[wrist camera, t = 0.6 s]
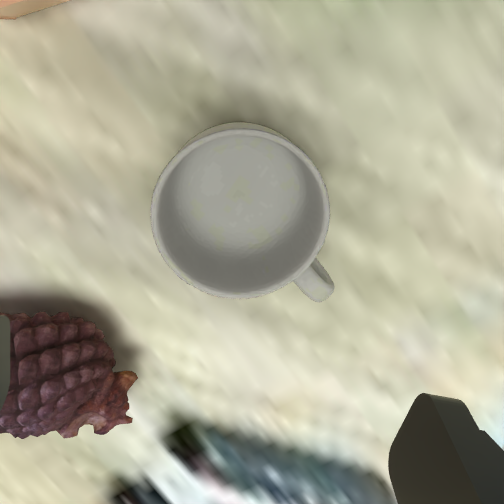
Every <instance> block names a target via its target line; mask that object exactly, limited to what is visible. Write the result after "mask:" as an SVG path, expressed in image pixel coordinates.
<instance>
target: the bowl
mask: <svg viewBox="0 0 504 504" xmlns="http://www.w3.org/2000/svg"><path fill="white" fill-rule="evenodd" d="M67 1H70V0H0V19H16V18H17V17H20V16H23V15H26V14H29V13H33V12H36V11H39V10H42V9H45V8H48V7H51V6H55V5H58V4H61V3H64V2H67Z"/></svg>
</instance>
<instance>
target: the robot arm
mask: <svg viewBox="0 0 504 504" xmlns="http://www.w3.org/2000/svg"><path fill="white" fill-rule="evenodd" d="M9 385H10V321H9V318H8V317H7V316H4V315H0V411H1V409H2V407H3V404H4V402H5V399H6V396H7V393H8V389H9ZM388 467H389V475H390V479H391V482H392V486H393V489H394V492H395V496H396V499H397V502H398V504H504V451H503V450H502V449H501V448H500V447H499V445H498V444H497V443H496V442H495V441H494V440H493V439H492V438H491V437H490V436H489V435H488V434H487V433H486V432H485V431H482V430H479V428H478V426H477V424H476V423H475V421H474V419H473V417H472V415H471V414H470V412H469V410H468V408H467V406H466V405H465V404H464V403H463V402H462V401H461V400H458V399H453V398H448V397H442V396H437V395H431V394H426V393H422V394H420V395H418V396H417V398H416V399H415V401H414V402H413V404H412V406H411V408H410V410H409V412H408V414H407V416H406V418H405V420H404V422H403V424H402V426H401V427H400V429H399V431H398V433H397V435H396V437H395V439H394V441H393V443H392V445H391V448H390V452H389V461H388Z"/></svg>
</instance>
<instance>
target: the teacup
mask: <svg viewBox="0 0 504 504" xmlns="http://www.w3.org/2000/svg"><path fill="white" fill-rule="evenodd" d="M329 219H330V205H329V197H328V193H327V189H326V186H325V184H324V182H323V179H322V177H321V175H320V173H319V171H318V169H317V168H316V166H315V165H314V164H313V162H312V161H311V160H310V159H309V157H308V156H307V155H306V154H305V153H304V152H303V151H302V150H301V149H300V148H298V147H297V146H296V145H294V144H293V143H292V142H291V141H290V140H288V139H287V138H286V137H284V136H283V135H281V134H280V133H278V132H276V131H274V130H272V129H270V128H267V127H265V126H262V125H258V124H253V123H246V122H233V123H226V124H221V125H218V126H214V127H212V128H209V129H207V130H205V131H203V132H201V133H199V134H198V135H196V136H195V137H193V138H192V139H191V140H190V141H188V142H187V143H186V144H185V145H184V146H183V147H182V148H181V149H180V151H179V152H178V153H177V154H176V155H175V156H174V157H173V158H172V160H171V161H170V162H169V163H168V165H167V166H166V167H165V169H164V170H163V172H162V173H161V175H160V177H159V179H158V181H157V184H156V186H155V189H154V192H153V197H152V204H151V227H152V232H153V236H154V239H155V242H156V245H157V247H158V250H159V252H160V253H161V255H162V257H163V259H164V260H165V262H166V263H167V265H168V266H169V267H170V268H171V269H172V270H173V271H174V272H175V273H176V274H177V276H178V277H179V278H181V279H182V280H184V281H185V282H186V283H187V284H189V285H192V286H193V287H195V288H197V289H199V290H200V291H202V292H205V293H207V294H210V295H213V296H217V297H222V298H231V299H249V298H254V297H259V296H263V295H266V294H269V293H271V292H273V291H276V290H278V289H280V288H282V287H284V286H285V285H287V284H289V283H291V282H292V281H294V283H295V284H296V285H297V286H298V287H299V288H300V289H301V290H302V292H303V293H305V294H306V295H307V296H308V297H309V298H310V299H312V300H313V301H315V302H322V301H324V300H326V299H327V298H328V297H329V296H330V295H331V294H332V293H333V291H334V283H333V281H332V279H331V278H330V276H329V274H328V273H327V271H326V270H325V269H324V267H323V266H322V265H321V264H320V262H319V261H318V260H317V259H316V258H315V257H316V256H317V254H318V252H319V251H320V249H321V247H322V245H323V243H324V240H325V237H326V234H327V231H328V226H329Z"/></svg>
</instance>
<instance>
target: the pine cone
mask: <svg viewBox="0 0 504 504" xmlns="http://www.w3.org/2000/svg"><path fill="white" fill-rule="evenodd" d="M0 315H4V316H7V317H8V318H9V321H10V385H9V389H8V393H7V396H6V399H5V402H4V404H3V407H2V409H1V411H0V433H10V434H12V435H13V436H14V437H15V438H16V437H19V438H21V439H24V438H26V437H28V436H29V435H33V436H36V437H38V436H40V435H42V434H43V435H45V434H47V433H48V432H50V431H55V430H56V431H57V432H58V433H59V434H60V435H61V436H62V437H63V438H70V437H74V436H77V434H78V430H79V428H80V427H82V426H83V425H85V424H90V425H93V426H94V433H96V434H99V435H104V434H106V433H108V432H109V430H111V429H112V428H114V427H115V426H116V425H119V424H128V423H132V419H133V418H131V417H129V416H127V415H126V412H127V410H128V409H129V403H128V397H127V391H128V390H129V388H130V387H131V386H132V384H133V383H134V382H135V381H136V380H137V379H138V377H137V375H136V373H134V372H132V371H122V372H113V371H112V368H113V367H114V366H115V364H116V361H115V359H114V353H113V350H112V349H111V348H110V346H109V345H108V344H107V343H106V342H105V341H104V340H103V338H104V337H105V336H104V334H103V332H102V330H100V329H96V326H95V323H93V322H89V321H83V318H79V317H76V318H70V316H69V314H68V312H59V313H58V314H56V315H54V316H49V315H47V313H46V312H38V313H37V314H35V315H34V316H33V317H32V318H30V317H29V316H28V315H26V314H25V313H19V314H13V315H10V314H4V313H0Z"/></svg>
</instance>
